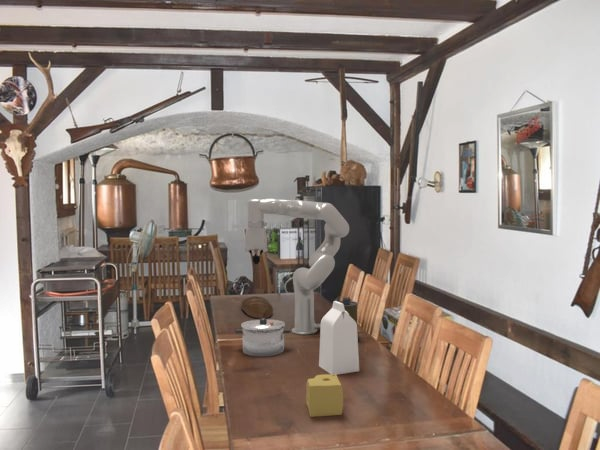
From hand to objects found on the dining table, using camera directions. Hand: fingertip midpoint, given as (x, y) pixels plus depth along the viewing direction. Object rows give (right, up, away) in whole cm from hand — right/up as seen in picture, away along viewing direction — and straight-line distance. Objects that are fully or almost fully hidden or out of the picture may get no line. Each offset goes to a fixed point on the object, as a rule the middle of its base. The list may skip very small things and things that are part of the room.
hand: (256, 263), depth 254 cm
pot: (+5, -36, -19) cm, 41 cm away
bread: (-4, -32, +55) cm, 64 cm away
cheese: (+28, -41, -84) cm, 97 cm away
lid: (+5, -26, -19) cm, 32 cm away
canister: (+42, -35, -4) cm, 55 cm away
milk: (+36, -38, -44) cm, 68 cm away
